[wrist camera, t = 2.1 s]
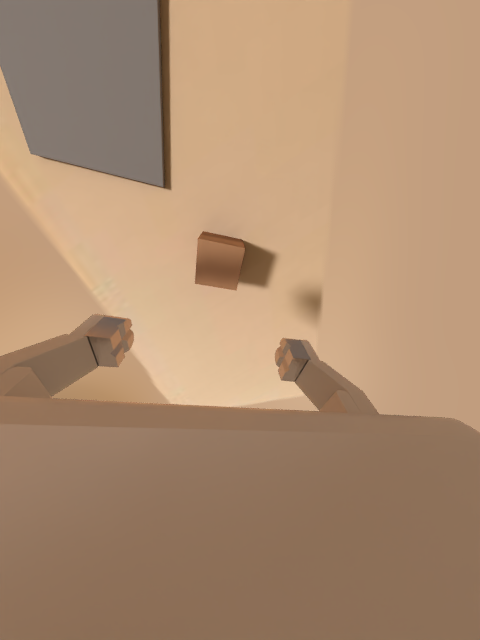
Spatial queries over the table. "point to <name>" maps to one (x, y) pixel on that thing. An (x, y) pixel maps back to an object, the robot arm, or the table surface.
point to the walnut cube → (219, 260)
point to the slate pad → (88, 82)
